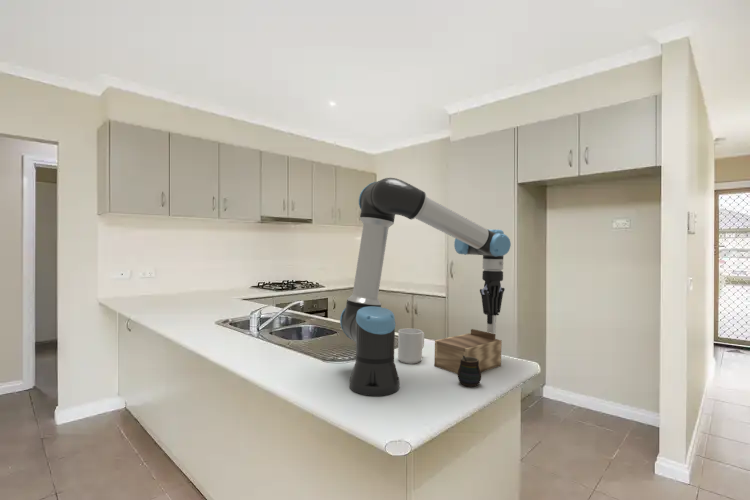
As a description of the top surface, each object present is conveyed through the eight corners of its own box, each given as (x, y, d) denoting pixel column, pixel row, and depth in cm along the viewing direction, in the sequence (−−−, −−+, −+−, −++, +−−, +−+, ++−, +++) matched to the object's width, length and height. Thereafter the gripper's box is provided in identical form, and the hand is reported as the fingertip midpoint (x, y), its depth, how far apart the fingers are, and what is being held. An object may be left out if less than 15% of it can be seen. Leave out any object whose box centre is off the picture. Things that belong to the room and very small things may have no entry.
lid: (464, 351, 131) (464, 342, 131) (436, 344, 140) (437, 335, 140) (499, 343, 144) (499, 334, 144) (471, 336, 153) (472, 328, 153)
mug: (410, 366, 141) (411, 334, 141) (392, 360, 148) (393, 330, 147) (431, 359, 149) (432, 330, 149) (414, 354, 156) (414, 326, 156)
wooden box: (466, 376, 131) (466, 349, 130) (434, 366, 141) (434, 340, 141) (501, 365, 143) (501, 340, 143) (469, 356, 154) (469, 333, 154)
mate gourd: (484, 383, 125) (485, 351, 125) (476, 391, 118) (477, 357, 118) (462, 378, 129) (462, 348, 128) (453, 385, 122) (454, 353, 122)
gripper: (491, 271, 143) (489, 336, 144) (511, 270, 152) (509, 331, 152) (474, 270, 149) (472, 332, 150) (494, 269, 157) (492, 328, 158)
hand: (491, 332), depth 151 cm, fingers closed
